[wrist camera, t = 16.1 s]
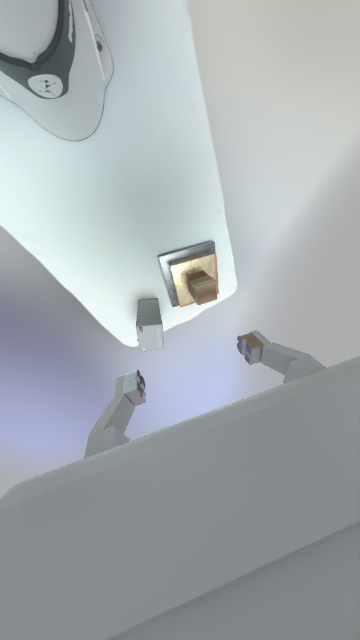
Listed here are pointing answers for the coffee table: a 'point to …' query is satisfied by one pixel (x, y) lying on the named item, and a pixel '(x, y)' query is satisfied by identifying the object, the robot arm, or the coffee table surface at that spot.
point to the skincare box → (149, 325)
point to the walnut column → (202, 287)
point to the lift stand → (187, 270)
